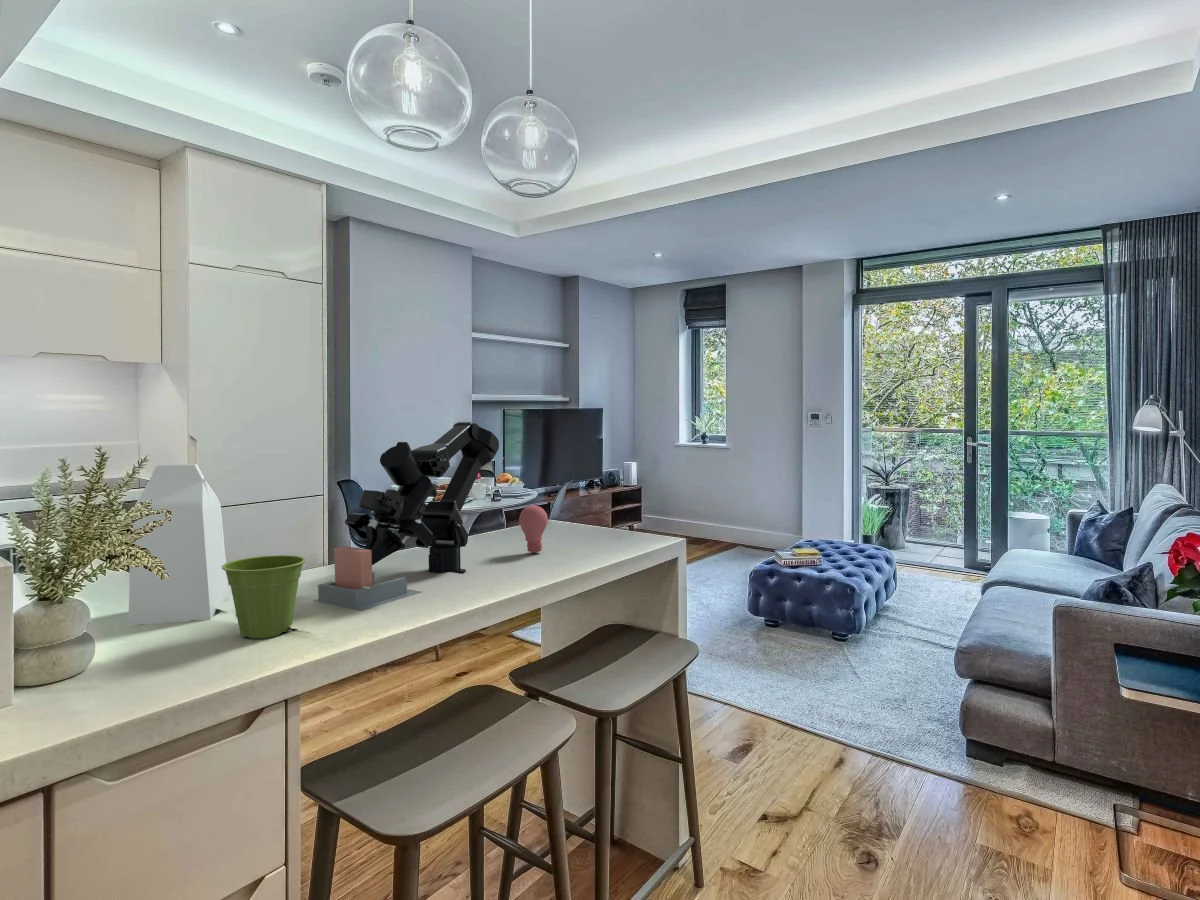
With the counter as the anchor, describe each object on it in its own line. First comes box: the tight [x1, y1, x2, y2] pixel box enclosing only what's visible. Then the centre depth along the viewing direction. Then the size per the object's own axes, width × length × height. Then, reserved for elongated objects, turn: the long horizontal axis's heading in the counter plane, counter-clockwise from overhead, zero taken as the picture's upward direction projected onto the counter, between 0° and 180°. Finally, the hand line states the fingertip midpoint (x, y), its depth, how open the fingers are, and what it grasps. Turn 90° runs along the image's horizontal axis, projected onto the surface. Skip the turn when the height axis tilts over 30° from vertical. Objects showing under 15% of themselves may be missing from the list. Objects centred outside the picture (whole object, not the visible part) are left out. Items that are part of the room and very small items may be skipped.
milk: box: [128, 463, 230, 626], centre depth 113 cm, size 12×12×26 cm
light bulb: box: [518, 505, 549, 554], centre depth 163 cm, size 7×7×12 cm
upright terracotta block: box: [333, 545, 373, 590], centre depth 118 cm, size 3×7×9 cm, turn 60°
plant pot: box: [222, 554, 307, 640], centre depth 103 cm, size 12×12×11 cm
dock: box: [313, 571, 423, 612], centre depth 120 cm, size 14×13×4 cm
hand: (363, 567), depth 119 cm, fingers closed, pressing on upright terracotta block
